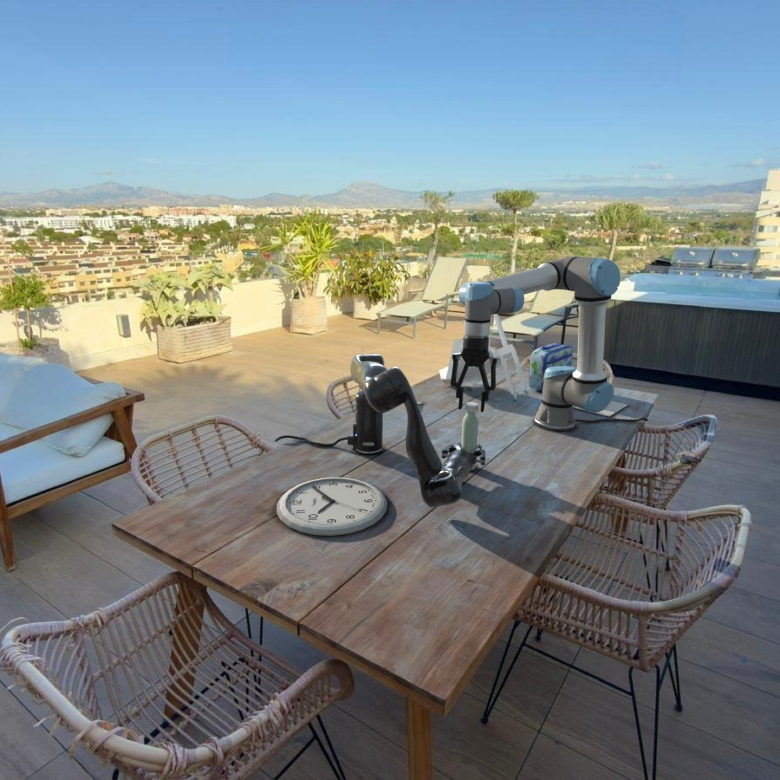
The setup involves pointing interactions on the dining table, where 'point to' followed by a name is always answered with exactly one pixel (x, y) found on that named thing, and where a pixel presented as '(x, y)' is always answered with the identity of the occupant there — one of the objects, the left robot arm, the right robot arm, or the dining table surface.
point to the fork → (420, 400)
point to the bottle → (469, 432)
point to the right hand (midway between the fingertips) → (471, 409)
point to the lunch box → (547, 362)
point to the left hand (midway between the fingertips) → (470, 445)
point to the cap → (471, 407)
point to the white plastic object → (487, 363)
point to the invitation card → (609, 408)
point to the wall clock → (331, 506)
